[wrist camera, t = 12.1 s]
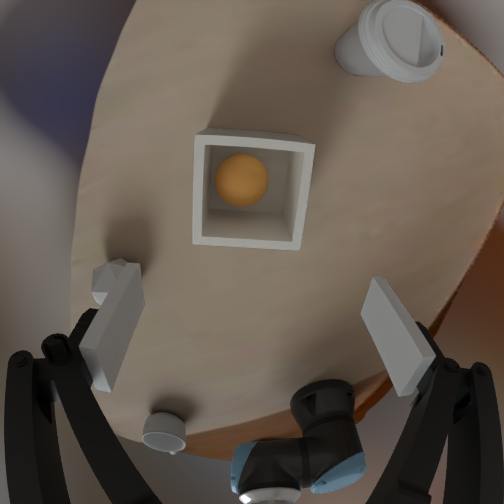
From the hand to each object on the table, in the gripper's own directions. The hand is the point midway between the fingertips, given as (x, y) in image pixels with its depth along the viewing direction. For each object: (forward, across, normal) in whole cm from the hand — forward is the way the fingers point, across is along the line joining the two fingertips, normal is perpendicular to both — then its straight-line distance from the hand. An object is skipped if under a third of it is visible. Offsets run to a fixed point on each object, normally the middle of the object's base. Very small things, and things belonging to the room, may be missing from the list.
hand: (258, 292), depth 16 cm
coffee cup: (+27, -13, -20) cm, 36 cm away
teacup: (+27, +16, +62) cm, 69 cm away
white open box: (+27, 0, 0) cm, 27 cm away
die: (+27, +19, +16) cm, 37 cm away
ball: (+26, 0, -1) cm, 26 cm away
